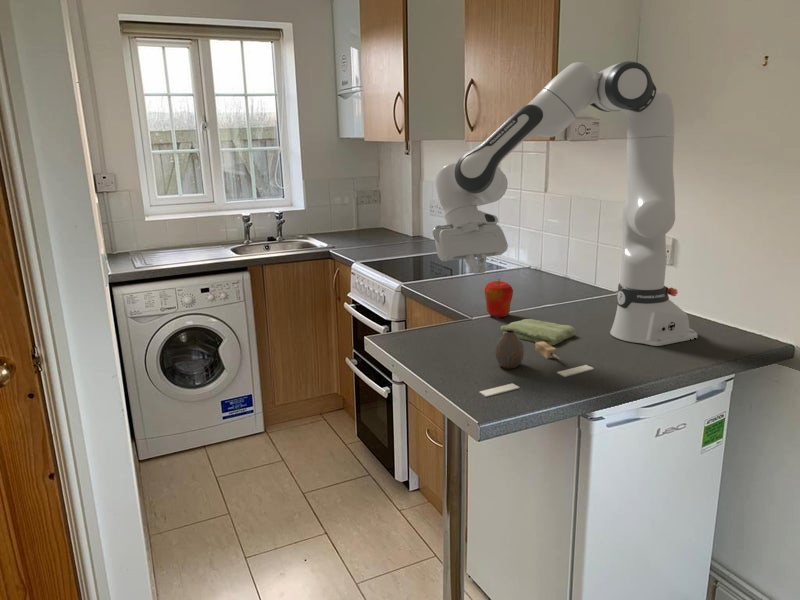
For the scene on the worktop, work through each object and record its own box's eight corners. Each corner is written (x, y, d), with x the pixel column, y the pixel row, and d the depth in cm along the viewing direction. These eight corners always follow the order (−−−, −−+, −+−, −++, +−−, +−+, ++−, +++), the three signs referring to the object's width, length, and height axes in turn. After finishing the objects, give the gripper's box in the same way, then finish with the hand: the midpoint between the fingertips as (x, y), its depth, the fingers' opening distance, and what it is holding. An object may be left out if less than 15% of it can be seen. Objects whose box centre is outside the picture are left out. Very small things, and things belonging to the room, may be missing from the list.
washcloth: (523, 324, 181) (523, 314, 180) (577, 337, 169) (578, 326, 168) (497, 335, 172) (497, 324, 171) (552, 349, 160) (553, 337, 159)
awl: (535, 351, 158) (535, 342, 157) (543, 350, 158) (543, 341, 158) (559, 367, 147) (560, 357, 146) (568, 366, 147) (569, 356, 147)
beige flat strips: (585, 366, 147) (586, 364, 147) (593, 369, 144) (593, 368, 144) (479, 392, 133) (479, 391, 133) (485, 397, 131) (485, 395, 131)
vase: (506, 358, 153) (507, 325, 151) (529, 365, 148) (530, 331, 146) (489, 365, 148) (489, 331, 146) (512, 373, 143) (513, 337, 141)
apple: (478, 315, 189) (479, 278, 186) (497, 310, 194) (498, 274, 191) (498, 321, 183) (499, 283, 179) (517, 316, 187) (519, 278, 184)
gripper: (436, 220, 151) (452, 271, 147) (502, 216, 160) (518, 263, 157) (425, 231, 156) (440, 281, 153) (489, 226, 166) (504, 273, 162)
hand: (480, 272), depth 155 cm, fingers closed
